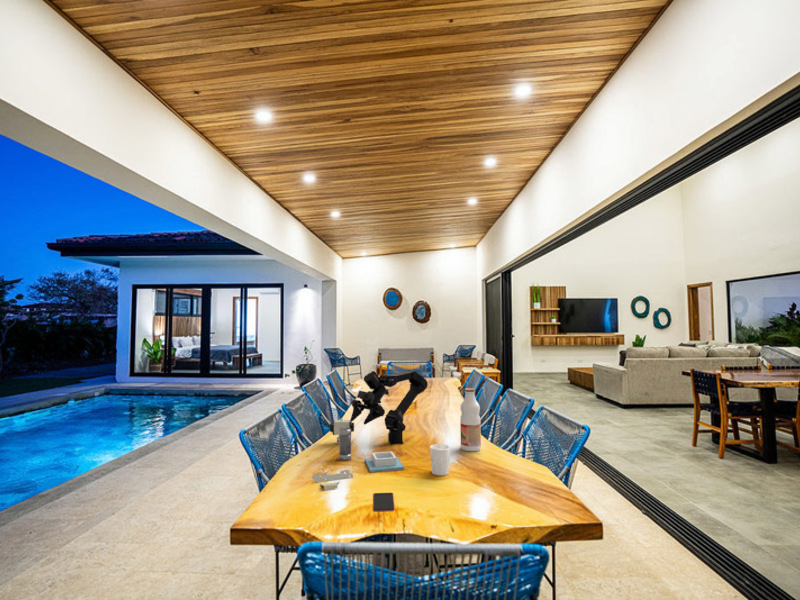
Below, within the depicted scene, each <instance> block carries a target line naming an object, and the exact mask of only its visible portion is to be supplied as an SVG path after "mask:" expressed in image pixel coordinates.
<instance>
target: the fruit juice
mask: <svg viewBox="0 0 800 600" xmlns="http://www.w3.org/2000/svg"><path fill="white" fill-rule="evenodd" d="M464 393H465V395H464V399H463V401H462V402H461V404H460V412H461V415H460V419H459V420H460V421H459V422H460V425H459V426H460V428H459V429H460V449H461V450H462V451H464V452H465V451H466V452H478V451H481V449H482V441H481V440H482V437H481V436H482V431H481V417H480V411H481V406H480V404H479V402H478V401H477V399H476V396H475V393H476V389H475V388H471V387H466V388H464Z"/></svg>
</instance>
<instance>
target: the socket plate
mask: <svg viewBox="0 0 800 600" xmlns="http://www.w3.org/2000/svg"><path fill="white" fill-rule="evenodd" d="M371 455H372V456H371V458H369V457H368V458H364V462H365V465H366V466H367V469H368V470H369V472H370V473H377V472H380V471H381V472H389V471H391V470H392V471H400V470H401V471H402V470H405V466H404V464H403V463H402V461H401V460H400V459H399V458H398V456H397V455H395V454H394V452H393V451H382V452H372V454H371Z"/></svg>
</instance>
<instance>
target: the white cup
mask: <svg viewBox="0 0 800 600" xmlns="http://www.w3.org/2000/svg"><path fill="white" fill-rule="evenodd" d="M429 450H430V452H429V453H430V454H429V455H430V466H431V473H432V474H433V475H434V476H435V475H436V476H447V475H449V472H450V463H451V462H450V460H451V459H450V457H451V446H449V445H447V444H443V443H434V444H431V445H430V446H429Z"/></svg>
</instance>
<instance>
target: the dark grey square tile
mask: <svg viewBox="0 0 800 600" xmlns="http://www.w3.org/2000/svg"><path fill="white" fill-rule="evenodd" d="M372 495H373V496H372V512H375V513H377V512H379V513H381V512H384V513H385V512H394V511H396V509H395V500H394V499H395V498H394V493H393V492H374V493H373V494H372Z"/></svg>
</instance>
